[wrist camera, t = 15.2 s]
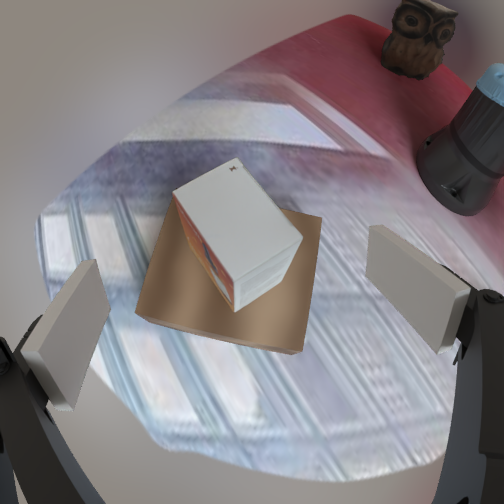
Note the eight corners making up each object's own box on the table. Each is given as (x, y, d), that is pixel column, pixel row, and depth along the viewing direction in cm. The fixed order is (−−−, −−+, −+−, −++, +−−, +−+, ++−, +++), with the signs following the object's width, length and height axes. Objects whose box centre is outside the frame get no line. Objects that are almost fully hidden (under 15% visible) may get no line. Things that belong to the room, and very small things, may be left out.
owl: (434, 78, 55) (467, 16, 37) (412, 91, 52) (450, 17, 33) (392, 48, 59) (417, -15, 40) (366, 57, 55) (392, -16, 36)
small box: (189, 247, 31) (168, 189, 21) (236, 219, 32) (236, 153, 22) (234, 315, 28) (232, 283, 19) (283, 282, 30) (305, 236, 20)
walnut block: (309, 240, 38) (322, 217, 33) (290, 355, 33) (302, 351, 28) (183, 214, 39) (176, 188, 33) (150, 322, 34) (134, 312, 28)
